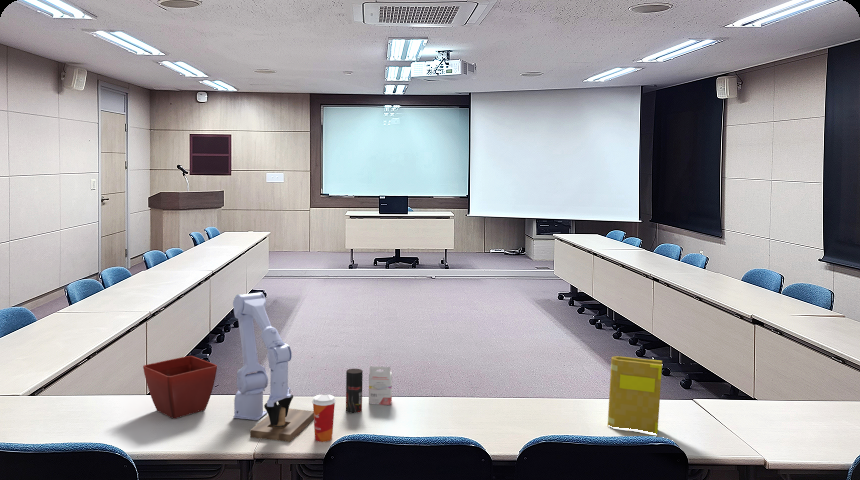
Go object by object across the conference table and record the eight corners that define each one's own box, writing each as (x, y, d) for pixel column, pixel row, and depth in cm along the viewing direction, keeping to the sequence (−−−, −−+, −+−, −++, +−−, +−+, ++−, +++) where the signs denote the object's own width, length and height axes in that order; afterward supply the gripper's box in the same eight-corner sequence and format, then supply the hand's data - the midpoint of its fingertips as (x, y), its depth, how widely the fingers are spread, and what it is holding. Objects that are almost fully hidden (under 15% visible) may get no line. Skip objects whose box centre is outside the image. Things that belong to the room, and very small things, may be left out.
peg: (270, 433, 225) (271, 410, 224) (276, 428, 229) (276, 406, 228) (282, 434, 224) (282, 411, 223) (287, 430, 228) (287, 407, 227)
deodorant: (359, 414, 245) (359, 374, 243) (343, 412, 246) (344, 372, 245) (363, 408, 251) (364, 369, 249) (348, 407, 252) (349, 368, 250)
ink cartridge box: (391, 400, 260) (392, 363, 259) (390, 405, 255) (391, 367, 254) (369, 399, 261) (370, 362, 259) (368, 404, 256) (368, 366, 254)
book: (657, 429, 238) (662, 360, 236) (657, 436, 232) (661, 365, 229) (608, 422, 244) (612, 355, 241) (606, 429, 237) (610, 359, 235)
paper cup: (312, 434, 225) (313, 393, 224) (335, 434, 226) (336, 393, 225) (310, 443, 218) (311, 401, 216) (334, 443, 218) (335, 401, 217)
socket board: (250, 437, 221) (250, 430, 221) (278, 414, 243) (278, 407, 242) (290, 441, 218) (290, 434, 218) (314, 418, 240) (314, 411, 240)
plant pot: (142, 410, 243) (141, 364, 241) (191, 397, 257) (191, 354, 255) (168, 424, 230) (168, 376, 228) (218, 410, 244) (218, 365, 243)
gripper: (281, 389, 217) (281, 429, 218) (298, 375, 231) (298, 414, 233) (261, 387, 218) (261, 427, 220) (279, 374, 232) (279, 412, 234)
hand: (279, 420), depth 226 cm, fingers open, 7 cm apart
